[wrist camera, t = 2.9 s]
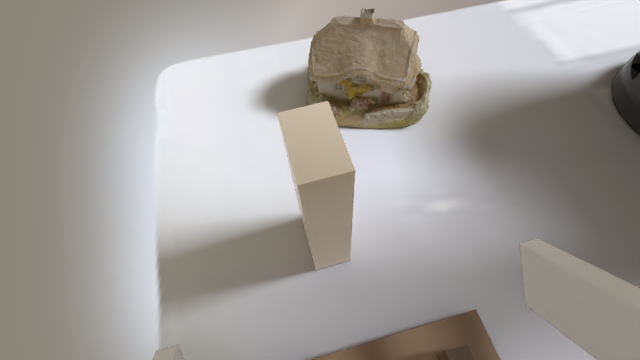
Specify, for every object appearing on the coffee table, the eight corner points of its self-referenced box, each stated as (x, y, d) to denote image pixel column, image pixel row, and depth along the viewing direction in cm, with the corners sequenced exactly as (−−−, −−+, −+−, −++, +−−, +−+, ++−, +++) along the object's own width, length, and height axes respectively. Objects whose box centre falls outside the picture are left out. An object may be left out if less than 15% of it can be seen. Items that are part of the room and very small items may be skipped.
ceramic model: (290, 120, 38) (275, 41, 30) (317, 52, 44) (310, -30, 35) (421, 141, 36) (446, 62, 27) (432, 67, 41) (455, -18, 33)
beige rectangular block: (333, 209, 32) (328, 100, 20) (350, 260, 30) (355, 170, 18) (301, 217, 32) (277, 112, 20) (315, 270, 29) (297, 185, 17)
